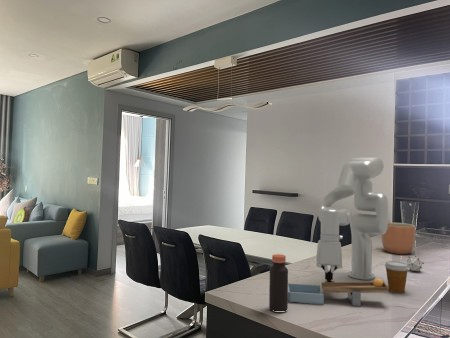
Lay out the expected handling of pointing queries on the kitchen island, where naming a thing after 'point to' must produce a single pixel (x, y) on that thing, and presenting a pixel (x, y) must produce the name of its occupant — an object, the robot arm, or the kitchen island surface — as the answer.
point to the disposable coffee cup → (396, 276)
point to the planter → (399, 238)
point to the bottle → (278, 284)
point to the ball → (378, 282)
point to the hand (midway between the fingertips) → (328, 281)
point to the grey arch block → (355, 298)
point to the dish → (305, 294)
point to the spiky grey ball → (414, 264)
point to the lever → (353, 287)
